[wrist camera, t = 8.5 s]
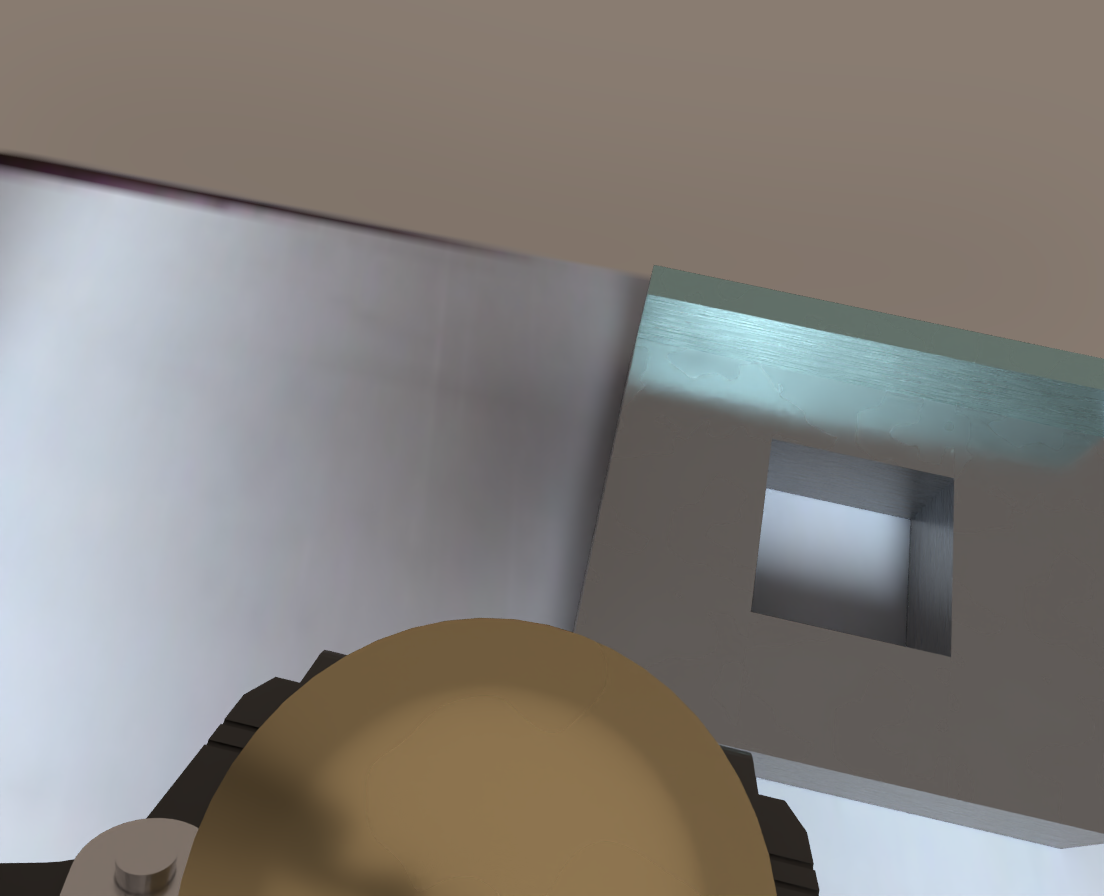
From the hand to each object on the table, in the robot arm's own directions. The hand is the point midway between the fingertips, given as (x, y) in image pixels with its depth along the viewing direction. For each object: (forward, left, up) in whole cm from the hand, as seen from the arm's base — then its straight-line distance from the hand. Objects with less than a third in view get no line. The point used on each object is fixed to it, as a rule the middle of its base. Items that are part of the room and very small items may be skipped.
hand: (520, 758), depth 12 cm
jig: (+9, +11, -17) cm, 22 cm away
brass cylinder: (0, -2, -5) cm, 5 cm away
